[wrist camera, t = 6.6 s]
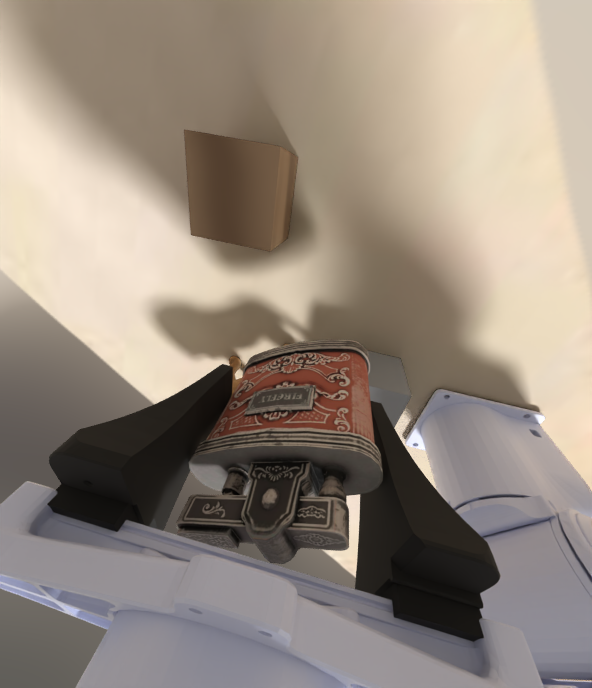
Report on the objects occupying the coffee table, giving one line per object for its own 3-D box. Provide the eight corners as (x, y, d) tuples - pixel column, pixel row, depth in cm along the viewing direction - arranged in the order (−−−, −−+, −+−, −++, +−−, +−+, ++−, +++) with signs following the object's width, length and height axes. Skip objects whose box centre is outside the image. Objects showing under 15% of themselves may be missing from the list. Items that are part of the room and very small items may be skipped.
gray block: (400, 357, 23) (411, 396, 19) (381, 397, 25) (387, 439, 21) (345, 345, 23) (343, 379, 19) (332, 385, 26) (328, 424, 22)
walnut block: (298, 157, 17) (280, 146, 12) (288, 238, 19) (270, 251, 15) (225, 144, 17) (184, 129, 13) (225, 225, 20) (191, 235, 15)
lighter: (364, 331, 14) (385, 529, 6) (373, 378, 16) (399, 588, 8) (239, 352, 17) (129, 516, 8) (257, 391, 18) (179, 562, 10)
